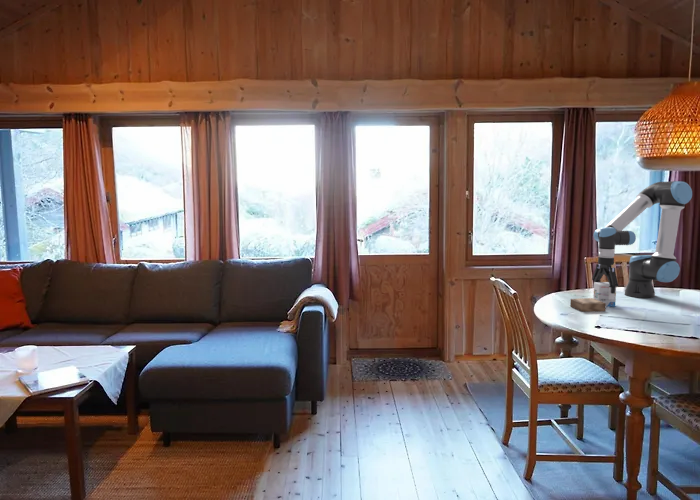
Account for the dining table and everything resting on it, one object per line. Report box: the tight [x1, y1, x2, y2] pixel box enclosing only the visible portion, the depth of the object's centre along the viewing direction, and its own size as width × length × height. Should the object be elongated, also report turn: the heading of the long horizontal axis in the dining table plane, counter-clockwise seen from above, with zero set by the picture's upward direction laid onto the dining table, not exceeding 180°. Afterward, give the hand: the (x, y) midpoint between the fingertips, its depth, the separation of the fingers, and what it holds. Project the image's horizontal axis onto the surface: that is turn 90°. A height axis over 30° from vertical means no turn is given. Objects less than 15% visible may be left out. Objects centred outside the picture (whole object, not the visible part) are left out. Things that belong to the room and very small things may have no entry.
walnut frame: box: [569, 297, 607, 313], centre depth 265 cm, size 12×12×4 cm
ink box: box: [592, 281, 617, 308], centre depth 273 cm, size 8×8×12 cm
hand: (603, 296), depth 273 cm, fingers open, 13 cm apart
